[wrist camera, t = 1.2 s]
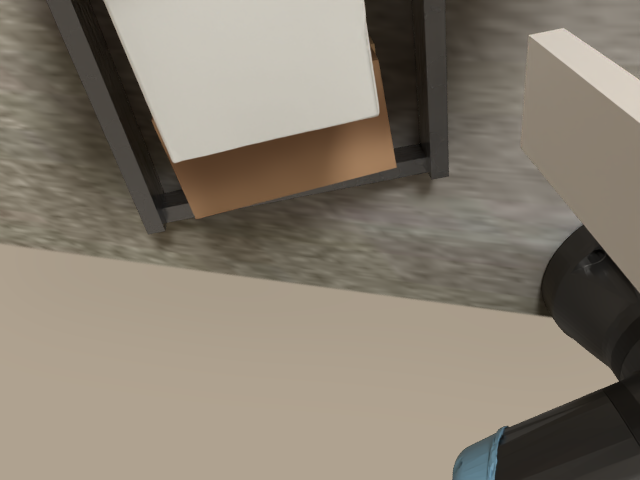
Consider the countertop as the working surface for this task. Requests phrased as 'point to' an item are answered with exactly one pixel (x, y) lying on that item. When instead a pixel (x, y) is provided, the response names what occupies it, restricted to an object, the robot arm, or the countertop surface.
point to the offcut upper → (287, 163)
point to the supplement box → (247, 68)
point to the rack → (160, 207)
